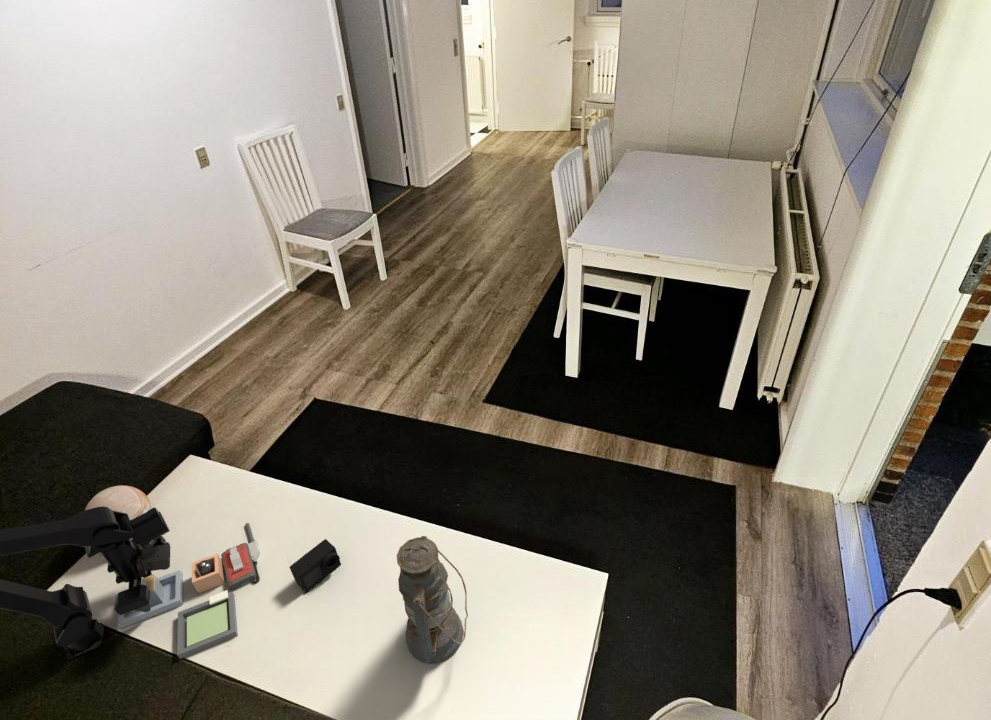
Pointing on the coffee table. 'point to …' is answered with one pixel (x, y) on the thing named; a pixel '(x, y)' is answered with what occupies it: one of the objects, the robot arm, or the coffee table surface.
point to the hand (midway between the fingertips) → (149, 594)
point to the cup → (210, 579)
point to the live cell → (154, 590)
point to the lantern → (428, 602)
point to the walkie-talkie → (241, 563)
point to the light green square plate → (207, 624)
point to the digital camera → (315, 565)
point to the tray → (171, 600)
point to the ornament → (122, 501)
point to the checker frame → (213, 640)
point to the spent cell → (205, 567)
